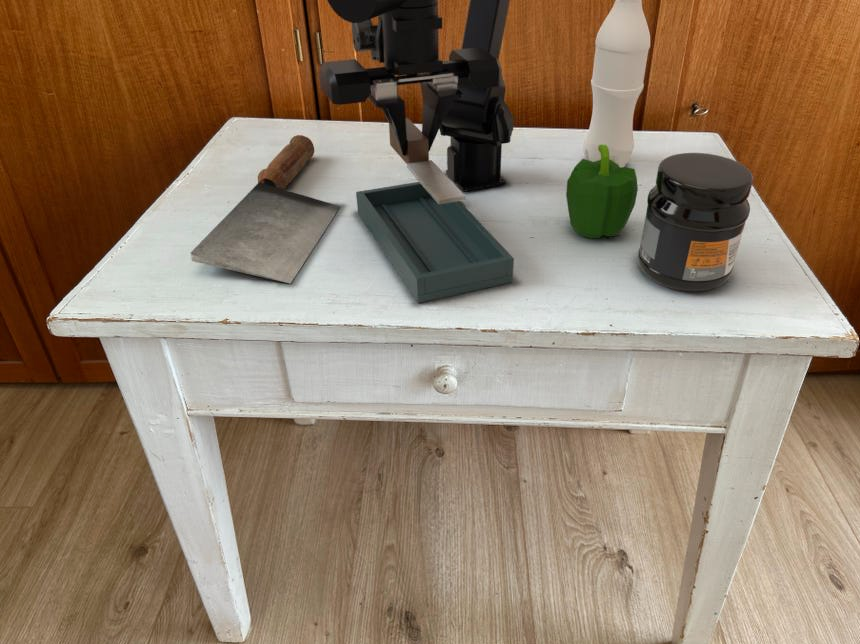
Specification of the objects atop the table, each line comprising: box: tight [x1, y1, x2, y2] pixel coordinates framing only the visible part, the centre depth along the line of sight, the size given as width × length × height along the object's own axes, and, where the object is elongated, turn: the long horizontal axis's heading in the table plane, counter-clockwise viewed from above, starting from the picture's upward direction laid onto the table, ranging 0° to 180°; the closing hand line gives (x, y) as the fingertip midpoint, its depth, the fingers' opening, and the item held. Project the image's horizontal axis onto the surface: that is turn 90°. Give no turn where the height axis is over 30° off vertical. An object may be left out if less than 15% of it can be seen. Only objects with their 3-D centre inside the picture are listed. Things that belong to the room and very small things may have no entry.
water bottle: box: [583, 0, 651, 167], centre depth 95 cm, size 7×7×25 cm
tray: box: [355, 181, 515, 304], centre depth 82 cm, size 11×22×3 cm, turn 24°
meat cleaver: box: [190, 134, 341, 285], centre depth 88 cm, size 34×11×4 cm, turn 173°
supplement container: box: [637, 152, 754, 292], centre depth 76 cm, size 10×10×12 cm
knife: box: [388, 117, 467, 205], centre depth 78 cm, size 3×17×3 cm, turn 24°
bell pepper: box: [565, 145, 639, 239], centre depth 84 cm, size 8×8×10 cm
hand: (414, 152), depth 80 cm, fingers closed on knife, 2 cm apart
